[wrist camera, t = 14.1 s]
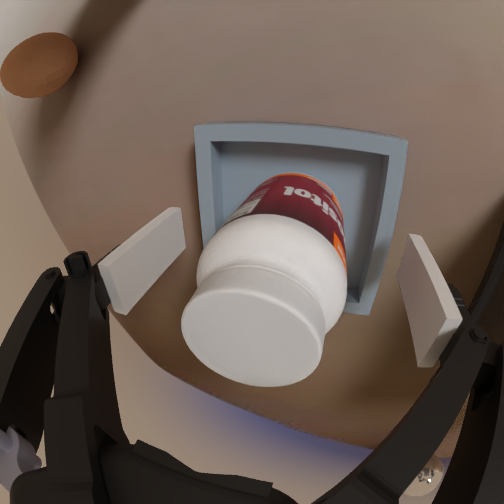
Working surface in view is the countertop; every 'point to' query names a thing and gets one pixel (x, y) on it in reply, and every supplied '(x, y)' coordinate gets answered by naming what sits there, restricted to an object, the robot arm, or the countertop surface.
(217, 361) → the pill bottle
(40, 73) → the egg
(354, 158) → the tray
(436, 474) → the light bulb
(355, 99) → the countertop surface
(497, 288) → the box
